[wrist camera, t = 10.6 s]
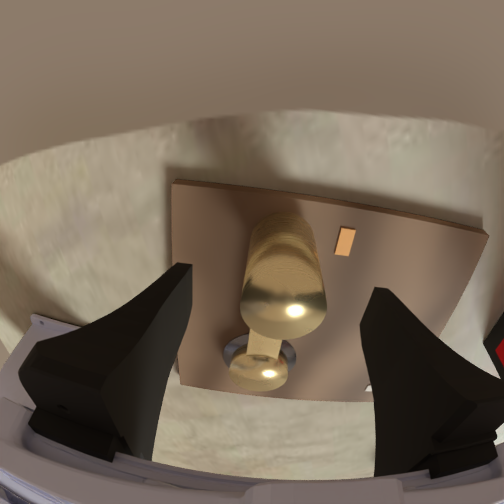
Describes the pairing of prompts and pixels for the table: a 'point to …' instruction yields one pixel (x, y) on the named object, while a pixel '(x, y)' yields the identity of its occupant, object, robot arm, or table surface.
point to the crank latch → (277, 299)
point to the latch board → (333, 273)
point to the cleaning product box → (496, 346)
